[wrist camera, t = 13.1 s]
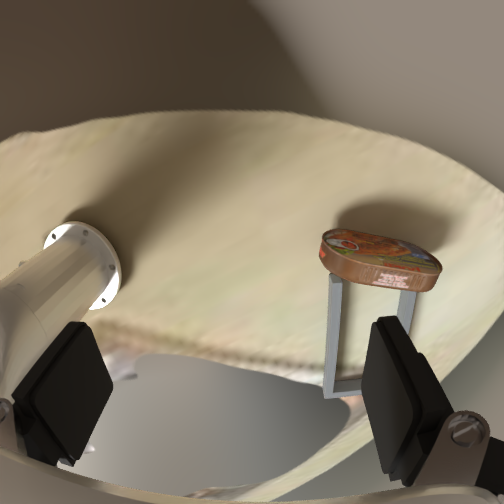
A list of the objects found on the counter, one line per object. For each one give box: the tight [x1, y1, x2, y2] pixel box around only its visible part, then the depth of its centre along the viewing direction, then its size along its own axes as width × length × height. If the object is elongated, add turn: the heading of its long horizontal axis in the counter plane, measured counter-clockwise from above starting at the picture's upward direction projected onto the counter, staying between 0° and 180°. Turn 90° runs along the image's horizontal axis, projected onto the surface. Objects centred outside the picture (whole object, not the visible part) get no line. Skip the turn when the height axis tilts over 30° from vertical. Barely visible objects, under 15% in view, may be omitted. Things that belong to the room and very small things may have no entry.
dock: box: [323, 274, 417, 399], centre depth 42 cm, size 11×20×2 cm, turn 4°
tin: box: [319, 229, 442, 292], centre depth 34 cm, size 15×3×8 cm, turn 81°
